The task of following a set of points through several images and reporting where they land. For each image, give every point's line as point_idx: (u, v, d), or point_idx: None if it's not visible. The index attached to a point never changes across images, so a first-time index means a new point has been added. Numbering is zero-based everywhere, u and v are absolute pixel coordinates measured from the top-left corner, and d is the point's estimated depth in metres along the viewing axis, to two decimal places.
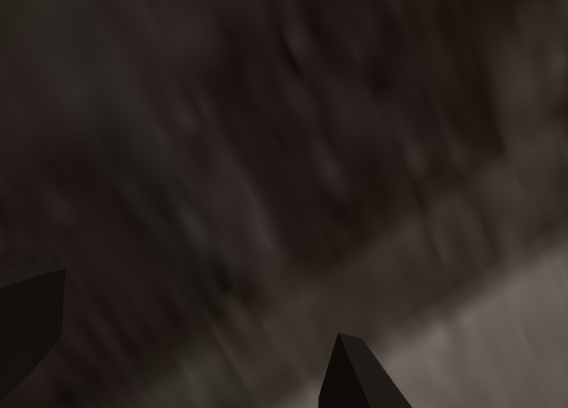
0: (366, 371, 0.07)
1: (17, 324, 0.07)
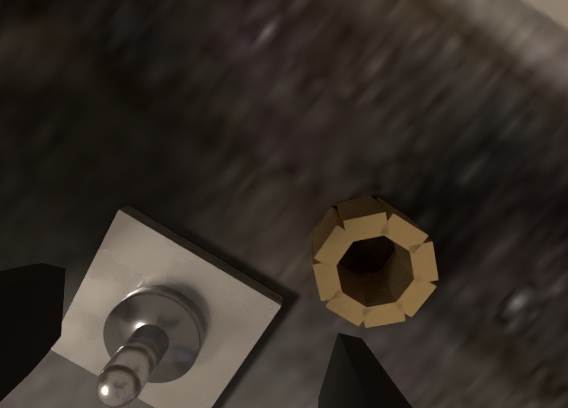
0: (366, 371, 0.07)
1: (17, 324, 0.07)
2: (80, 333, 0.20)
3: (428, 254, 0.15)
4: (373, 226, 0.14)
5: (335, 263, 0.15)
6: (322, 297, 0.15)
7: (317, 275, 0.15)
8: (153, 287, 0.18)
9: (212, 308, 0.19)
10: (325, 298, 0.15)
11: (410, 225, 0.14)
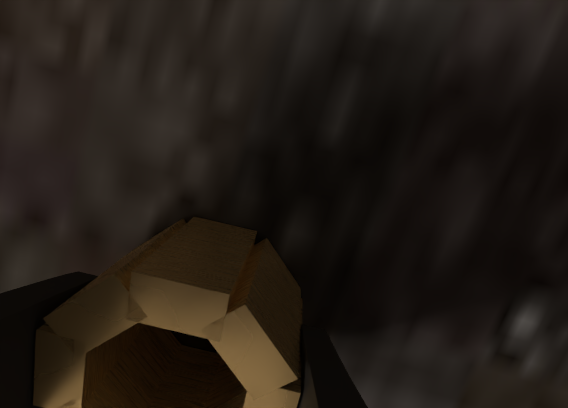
0: (320, 360, 0.07)
1: None
2: None
3: (250, 334, 0.06)
4: (107, 311, 0.06)
5: (76, 404, 0.07)
6: None
7: None
8: None
9: None
10: None
11: (180, 285, 0.06)
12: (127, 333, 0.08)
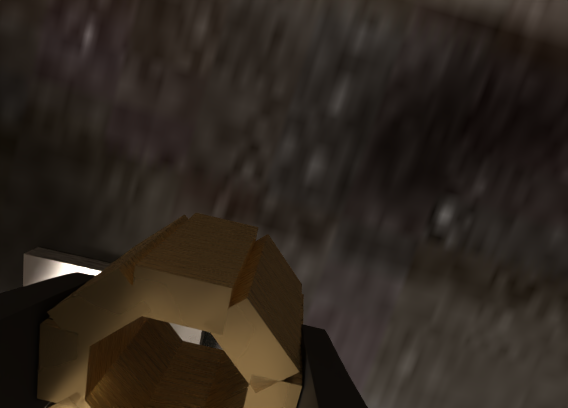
0: (320, 360, 0.07)
1: None
2: None
3: (252, 327, 0.06)
4: (110, 304, 0.06)
5: (80, 397, 0.07)
6: None
7: None
8: None
9: None
10: None
11: (183, 279, 0.06)
12: (129, 328, 0.09)
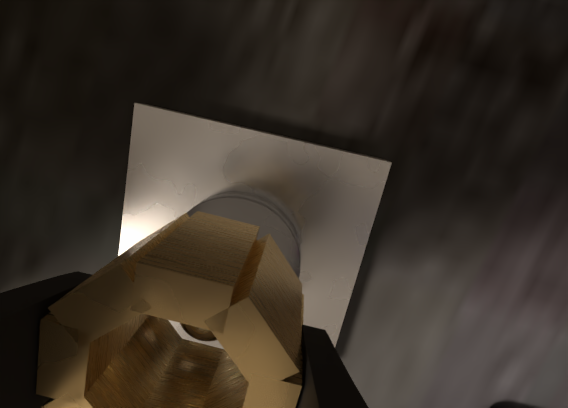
0: (321, 360, 0.07)
1: None
2: None
3: (252, 326, 0.06)
4: (111, 301, 0.06)
5: (79, 393, 0.07)
6: None
7: None
8: (212, 195, 0.13)
9: (297, 200, 0.13)
10: None
11: (184, 277, 0.06)
12: (129, 325, 0.09)
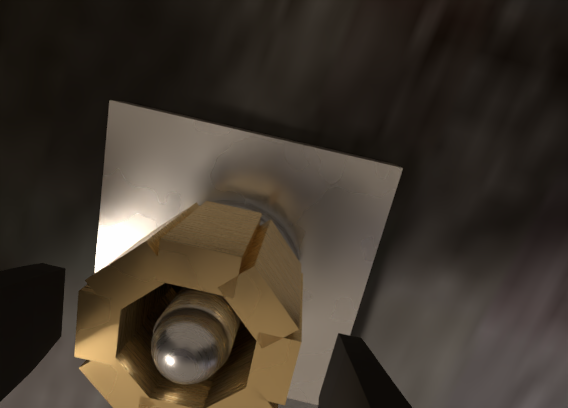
0: (366, 371, 0.07)
1: (17, 324, 0.07)
2: None
3: (258, 291, 0.07)
4: (139, 273, 0.08)
5: (111, 355, 0.08)
6: None
7: (94, 382, 0.08)
8: (199, 205, 0.12)
9: (295, 210, 0.12)
10: None
11: (200, 250, 0.07)
12: (150, 301, 0.10)
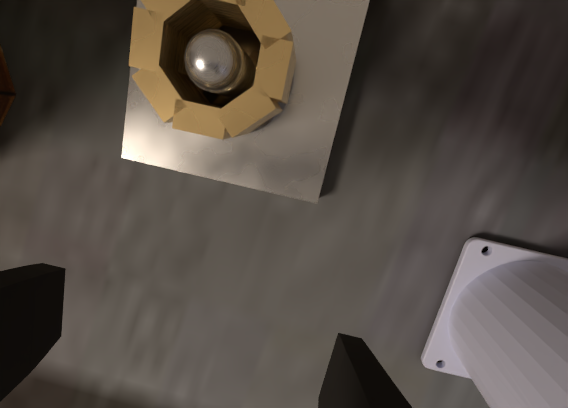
0: (366, 371, 0.07)
1: (17, 324, 0.07)
2: (150, 122, 0.16)
3: None
4: None
5: (156, 61, 0.11)
6: (162, 117, 0.12)
7: (142, 88, 0.11)
8: None
9: (291, 20, 0.15)
10: (166, 116, 0.12)
11: None
12: (179, 58, 0.13)
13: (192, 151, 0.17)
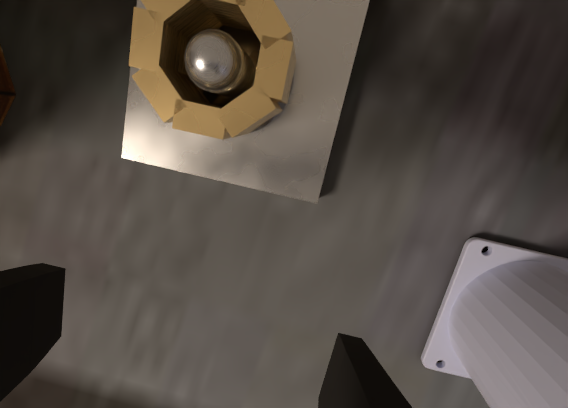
0: (366, 371, 0.07)
1: (17, 324, 0.07)
2: (150, 122, 0.16)
3: None
4: None
5: (156, 61, 0.11)
6: (162, 117, 0.12)
7: (142, 88, 0.11)
8: None
9: (291, 20, 0.15)
10: (166, 116, 0.12)
11: None
12: (179, 58, 0.13)
13: (192, 151, 0.17)
